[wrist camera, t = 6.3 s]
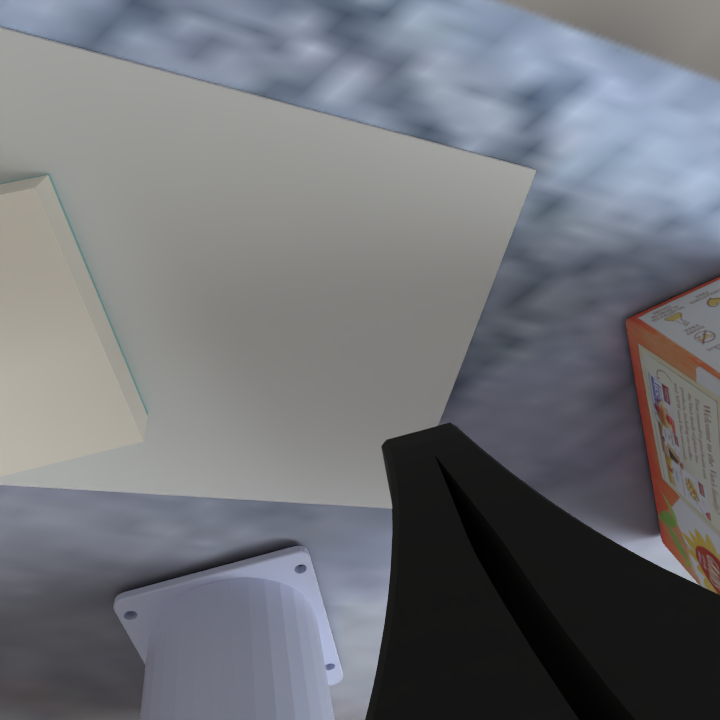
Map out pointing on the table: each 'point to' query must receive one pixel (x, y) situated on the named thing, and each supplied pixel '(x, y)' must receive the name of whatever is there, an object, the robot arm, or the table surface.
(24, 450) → the tile
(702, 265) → the table surface
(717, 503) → the cracker box
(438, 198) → the mat
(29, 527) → the table surface
